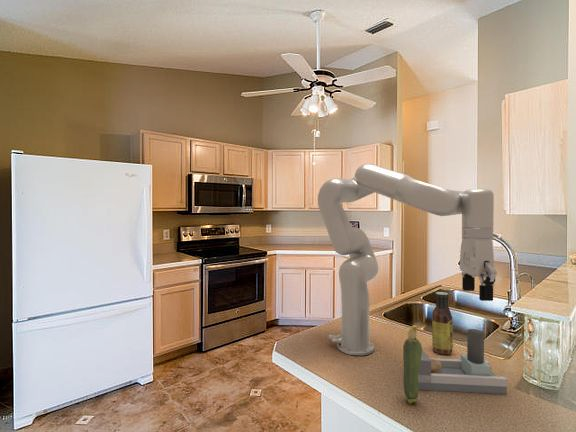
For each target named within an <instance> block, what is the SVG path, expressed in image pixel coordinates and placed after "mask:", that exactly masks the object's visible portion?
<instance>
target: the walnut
mask: <svg viewBox="0 0 576 432" xmlns="http://www.w3.org/2000/svg"><path fill="white" fill-rule="evenodd" d="M430 360H431V373H436V374H441V362H440V361H438V360H435V359H430Z"/></svg>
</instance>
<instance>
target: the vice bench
mask: <svg viewBox="0 0 576 432" xmlns="http://www.w3.org/2000/svg"><path fill="white" fill-rule="evenodd" d="M430 359H435V360H438V361H440V362H441V374H436V373H431V360H430ZM485 361H486V362H487V363H488V364H489V365H490V362H489V361H488V360H485ZM418 377H419V388H418V391H419V390H421V391H440V392H456V393H458V392H459V393H477V394H495V395H496V394H498V395H507V394H508V393H507V392H508V378H506V377H505V376H497V375H495V374H494V373H493V372H492V371H491V376H479V375H466V373H465V372H464V371H463V370H462V369H461V358H460V359H459V358H458V359H455V358H436V357H435V358H432V357H431V358H430V357H429V356H428V354H427V353H426V351H425V350H424V349H423V348H422V356H421V363H420V367H419V375H418Z"/></svg>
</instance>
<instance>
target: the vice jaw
mask: <svg viewBox="0 0 576 432" xmlns="http://www.w3.org/2000/svg"><path fill="white" fill-rule="evenodd" d="M466 337H467V338H466V339H467V342H466V343H467V344H466V345H467V348H466V354H462V353H461V354H460V359H461V369H462V370H463V371H464V372H465V373H466V375H479V376H491V372H492V366H491V365H490V363H489V364H488V363H487V362H486V361H487V360H485V333H484V331H482V330H479V329H474V328H470V329H467V336H466Z"/></svg>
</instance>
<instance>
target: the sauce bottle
mask: <svg viewBox="0 0 576 432" xmlns="http://www.w3.org/2000/svg"><path fill="white" fill-rule="evenodd" d="M434 295H435V307H434V309H433V310H432V315H431V316H432V320H431V321H432V322H431V326H432V328H431V329H432V330H431V331H432V332H431V333H432V337H431V338H432V339H431V340H432V350H433V351H434V352H435V353H437V354H439V355H445V356H449V355H452V353H453V349H454V343H453V342H454V340H453V339H454V337H453V336H454V332H453V329H454V328H453V327H454V326H453V323H454V322H453V315H452V312H451V310H450V307H449V297H450V295H449V293H448V292H445V291H436V292H435V294H434Z"/></svg>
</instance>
